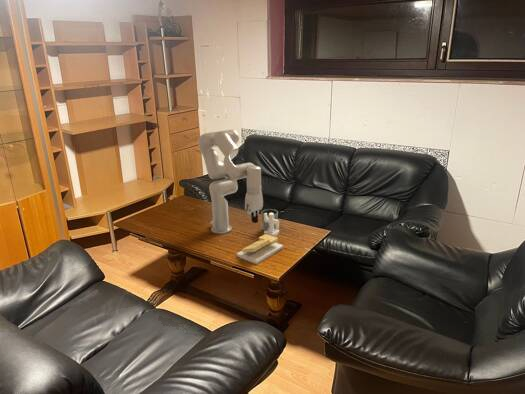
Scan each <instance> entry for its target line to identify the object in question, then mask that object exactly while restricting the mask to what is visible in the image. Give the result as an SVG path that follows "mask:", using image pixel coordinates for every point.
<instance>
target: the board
mask: <svg viewBox="0 0 525 394" xmlns="http://www.w3.org/2000/svg"><path fill="white" fill-rule="evenodd" d="M284 246H285V245H284V244H281V243H278V242H276V243H274V244H272V245H270V244H267V245H265V246H264V247H262V248H260V249H258V250H257V251H255V252H245V253H243V252H242V250H241V251H239V252H236V257H238V258H240V259H243V260H246V261H248V262H250V263H253V264H255V265H258V264H260V263H262V262H263V261H264V260H266V259H268V258H269V257H271V256H272V255H274V254H276V253H278V252H279V251H281V250H282V249H284V248H285V247H284Z"/></svg>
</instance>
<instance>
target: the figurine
mask: <svg viewBox="0 0 525 394" xmlns="http://www.w3.org/2000/svg"><path fill="white" fill-rule="evenodd" d="M264 221H265V222H267V223H269V228H268V229H267V230H266V231H265V232H264V231H263V235H264V234H268V235H271V236H274V237H277V236H278V235H279V233H280V220H279V219H277V220H276V219H274V213H269V218H267V213H264ZM274 224H276V229H274Z"/></svg>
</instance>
